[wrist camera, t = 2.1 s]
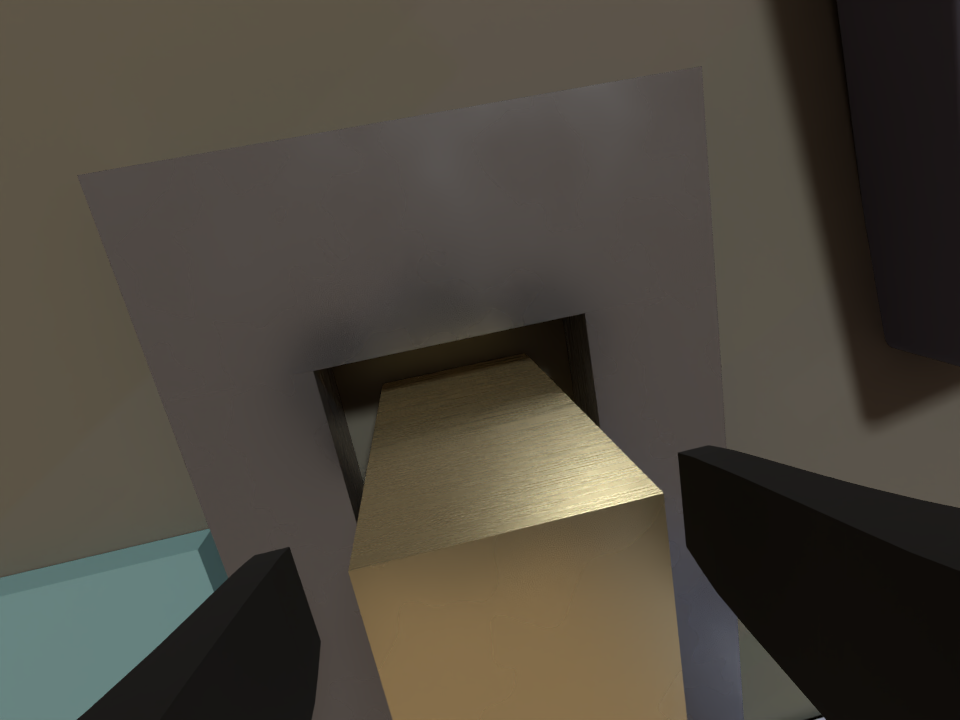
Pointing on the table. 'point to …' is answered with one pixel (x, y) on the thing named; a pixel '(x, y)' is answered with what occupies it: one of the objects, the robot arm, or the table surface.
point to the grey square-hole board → (427, 316)
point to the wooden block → (512, 557)
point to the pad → (95, 621)
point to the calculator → (909, 162)
